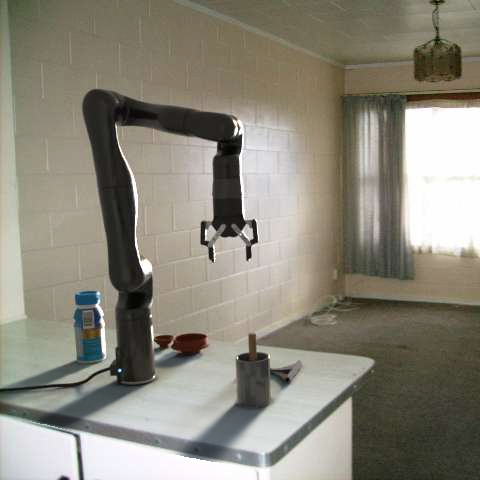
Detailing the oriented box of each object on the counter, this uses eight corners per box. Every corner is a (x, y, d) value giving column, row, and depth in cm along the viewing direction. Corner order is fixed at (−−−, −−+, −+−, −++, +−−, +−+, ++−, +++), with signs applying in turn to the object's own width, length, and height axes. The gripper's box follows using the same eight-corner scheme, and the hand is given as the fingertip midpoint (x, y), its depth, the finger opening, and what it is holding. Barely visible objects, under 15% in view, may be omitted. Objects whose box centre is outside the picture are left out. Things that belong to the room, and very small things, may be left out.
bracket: (250, 364, 179) (250, 354, 179) (302, 366, 177) (302, 356, 176) (235, 381, 165) (234, 371, 165) (290, 384, 163) (290, 373, 162)
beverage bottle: (69, 362, 184) (64, 294, 182) (90, 354, 192) (86, 289, 189) (92, 365, 181) (88, 296, 178) (112, 356, 189) (108, 290, 186)
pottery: (192, 359, 184) (191, 345, 184) (142, 350, 194) (142, 336, 194) (218, 349, 194) (217, 335, 194) (169, 341, 205) (169, 327, 204)
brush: (246, 402, 149) (244, 336, 147) (246, 396, 153) (244, 332, 151) (262, 401, 149) (259, 335, 147) (262, 396, 153) (259, 331, 151)
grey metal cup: (236, 409, 147) (234, 362, 145) (237, 396, 155) (236, 352, 153) (271, 407, 147) (269, 361, 146) (270, 394, 155) (269, 351, 154)
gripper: (257, 194, 161) (259, 258, 163) (200, 196, 160) (203, 260, 162) (256, 196, 153) (259, 262, 155) (197, 197, 152) (200, 264, 154)
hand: (230, 261), depth 158 cm, fingers open, 8 cm apart
